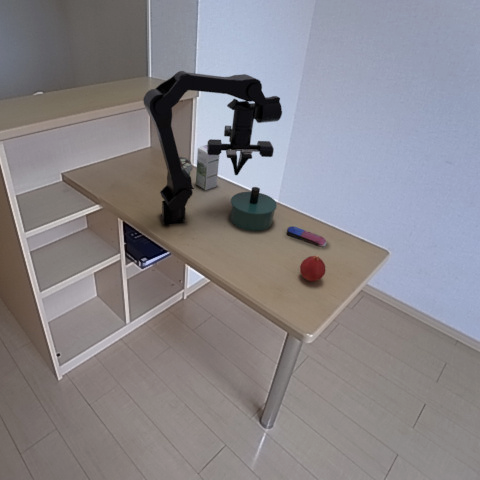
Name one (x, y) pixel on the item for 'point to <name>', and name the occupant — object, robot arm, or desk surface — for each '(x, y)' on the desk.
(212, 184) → the syrup box
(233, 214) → the pot
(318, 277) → the onion
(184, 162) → the food container
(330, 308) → the desk surface
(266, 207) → the lid
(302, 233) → the eraser
